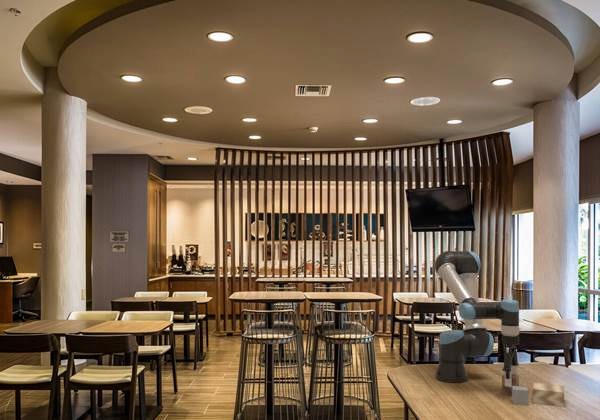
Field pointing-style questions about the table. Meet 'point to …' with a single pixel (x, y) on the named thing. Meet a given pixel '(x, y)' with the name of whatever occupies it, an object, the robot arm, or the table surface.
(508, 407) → the table surface
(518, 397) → the slate cube
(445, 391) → the table surface
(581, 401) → the table surface
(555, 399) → the birch block
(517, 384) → the walnut block
